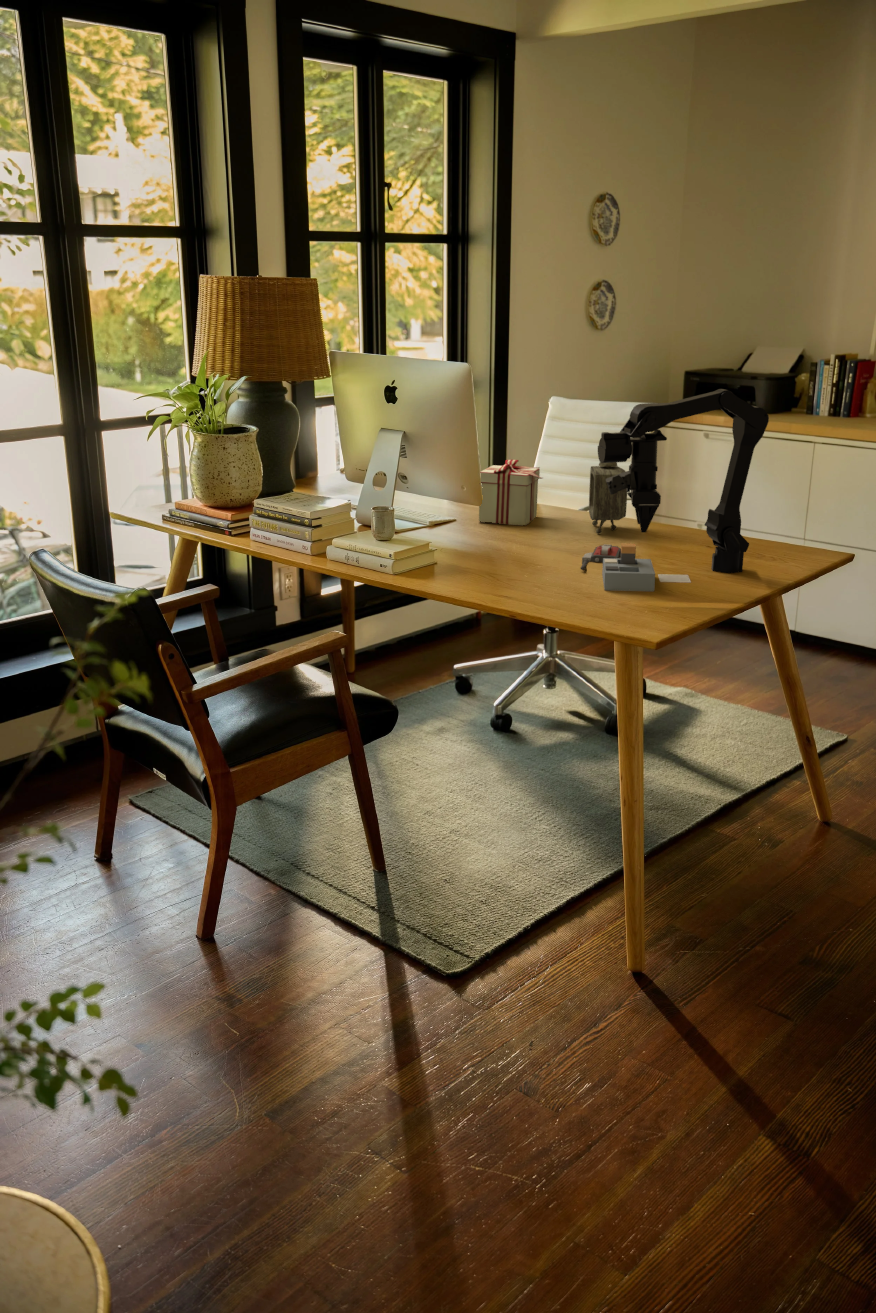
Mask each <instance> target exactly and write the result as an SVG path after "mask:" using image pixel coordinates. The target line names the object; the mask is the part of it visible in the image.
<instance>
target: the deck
mask: <svg viewBox="0 0 876 1313" xmlns="http://www.w3.org/2000/svg"><path fill="white" fill-rule="evenodd" d="M657 576H658V580H659V582H660V583H690V584H691V583H692V581H691V579H690V576H689V574H672V573H671V574H666V573H664V574H663V573H659V574H658V573H657Z"/></svg>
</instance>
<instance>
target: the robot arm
mask: <svg viewBox="0 0 876 1313" xmlns="http://www.w3.org/2000/svg"><path fill="white" fill-rule="evenodd" d="M716 410H721V411H723V413H725V414H726V415H727V416H728V417H730V418H731V419H732V435H733V436H732V437H733V448H732V451H731V455H730V460H729V462H728V467H727V471H726V476H725V479H724V484H723V488H722V491H721V495H720V500H719V503H718V505H717V506H716V508H715V509H711V508H709V509H708V511H707V519H706V522H705V523H704V526H705V527H706V528H705V530H706V534H707V536H708V537H709V538H710V539H711V540H712V543H713V546H715V548H714V552H713V553H712V555H711V556H712V557H711V558H712V559H711V570H712V572H716V573H722V574H736V573H743V567H744V558H745V557H744V556H745V555H744V553H747V551H748V548H749V547H750V542H748V541H747V539H746V538H745V537H743V535H742V534H741V529H742V528H741V526H742V517H741V510H740V508H741V503H742V499H743V495H744V491H745V486H746V483H747V479H748V475H749V471H750V470H749V469H750V466H751V464H752V459H753V455H754V451H755V448H756V446H757V444H759V442H760V441H761V439H762V438H763V437H764V434H765V432H766V429H767V427H768V425H769V422H770V416H769V414H768V412H767V410H765V409H764V408H763V407H759V406H755V405H752V404H750V403H748V402H747V401H745V400H743V399H741V398H740V397H739V396H737V395H736V394H734V393H733V392H732V391H731V390H729V389H724V388H718V389H716V390H714V391H710V392H707V393H702V394H698V395H694V396H689V397H686V398H682V399H678V400H674V401H670V402H650V403H649V402H647V403H639V404H637V405H635V406H634V407H633V408H631V411H630V414H629V418H628V419H627V421H626V422H625V424H624V425H623V427H622V428H621V430H620V431H619V432H607V431H605V432H604V431H602V432H601V436H600V439H599V441H598V445H597V458H598V461H599V463H600V462H601V463H613V462H617V463H627V461H628V460H629V459H630V458H631V460H630V461H631V463H630V465H628V471H626V470H625V471H626V472H623V473H620V474H617V475H615V476H612V477H609V478H607V479H606V483H607V485H608V488H609V491H610V494H615V493H617V492H618V491H621V490H624V489H626V490H627V497H629V498H630V500H631V505H632V507H633V508H634V509H635V510H634V511H635V516H636V517H635V518H636V522H637V525H639V527H640V532H641V533H642V534H643V533H647V532H648V529H649V527H650V526H651V523H652V520H653V519H654V517H655V514H656V513H657V510H658V509H659V506H660V505H661V502H662V501H661V500H662V499H661V497H662V496H661V494H660V492H659V491H658V490H657V488H658V484H657V472H658V467H659V466H658V442H661V441H662V442H663V441H667V440H668V437H667V436H665V434H664V433H662V431H661V429H662V428H664V427H666V426H668V425H669V424H670V423H672V422H675V421H677V420H680V419H686V418H688V417H693V416H696V415H700V414H705V413H709V412H712V411H713V412H714V411H716Z"/></svg>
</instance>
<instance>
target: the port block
mask: <svg viewBox="0 0 876 1313" xmlns="http://www.w3.org/2000/svg"><path fill="white" fill-rule="evenodd" d="M620 558H621V557H619V558H603V562H602V574H601V575H602V582H603V589H604V591H613V592H614V591H616V592H617V591H619V592H621V591H622V592H624V591H625V592H655V585H656V584H655V582H656V571H655V569H654V566H653V562H652V560H651V558H635V564H620Z"/></svg>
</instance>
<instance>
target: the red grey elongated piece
mask: <svg viewBox="0 0 876 1313" xmlns="http://www.w3.org/2000/svg"><path fill="white" fill-rule="evenodd" d="M603 558H621V547H619V546H617V545H612V544H605V543H604V544H600V545H598V546H596V547H595V548H594V549H593V552H586V553H584V555H583V556H582V557H581V567H580V570H582V571H584V570H585V569H586V567H587V566H588V563H589V562H591V563H603Z"/></svg>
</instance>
